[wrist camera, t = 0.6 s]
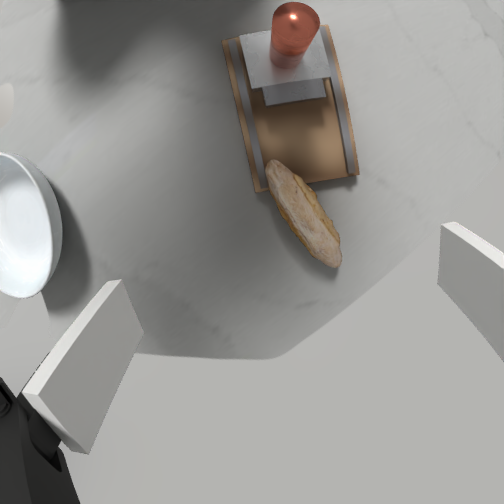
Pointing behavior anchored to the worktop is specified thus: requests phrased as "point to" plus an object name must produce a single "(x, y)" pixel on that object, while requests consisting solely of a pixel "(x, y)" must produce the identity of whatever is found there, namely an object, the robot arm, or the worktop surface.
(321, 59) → the copper peg on base
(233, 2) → the worktop surface
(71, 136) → the worktop surface
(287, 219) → the tan elongated oval piece
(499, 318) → the robot arm
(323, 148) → the railed wooden base plate
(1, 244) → the serving bowl
